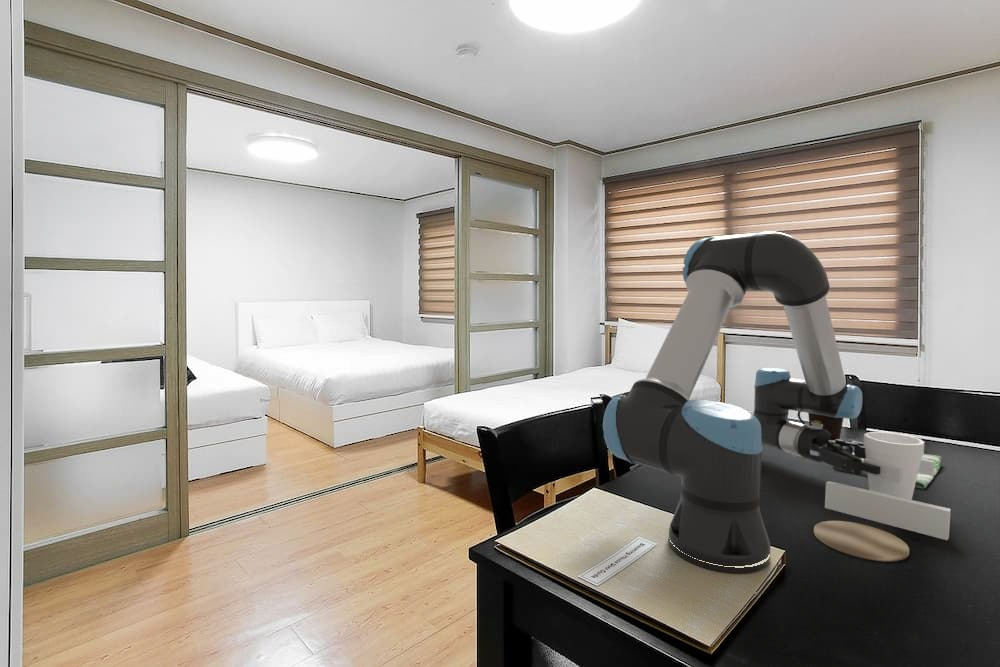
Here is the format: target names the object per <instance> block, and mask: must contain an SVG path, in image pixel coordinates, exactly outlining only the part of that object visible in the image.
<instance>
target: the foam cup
mask: <svg viewBox="0 0 1000 667" xmlns="http://www.w3.org/2000/svg"><path fill="white" fill-rule="evenodd" d="M863 443H864V445H863V446H864V447H865V454H866V459H870V460H874V461H877V462H881V463H884V464H888V465H892V466H895V467H899V468H902V469H903V470H902V483H897V482H894V481H890V480H887V479H884V478H880V477H877V476H874V475H870V474H868V476H867V482H868V490H871V491H875V492H879V493H884V494H888V495H892V496H897V497H901V498H905V499H910V500H913V495H914V491H915V488H916V487H915V483H916V479H917V475H918V470H919V466H920V462H921V458H922V456H923V454H925V441H923V439H921V438H918V437H915V436H911V435H907V434H902V433H894V432H887V431H869V432H865V433H864V434H863Z"/></svg>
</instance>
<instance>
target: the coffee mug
mask: <svg viewBox="0 0 1000 667" xmlns="http://www.w3.org/2000/svg"><path fill="white" fill-rule="evenodd" d="M801 413H802V412H800V411H797V418H798V420H799V421H800V423H801V424H806V422H804V421H803V419H802V417H801ZM807 414H808V423H809V426H813V427H817V428H821V429H825V430H827V431H828V432H829V433H830V434H831V436H832V438H833V439H834V440H835V439H840V438H841V432H842V427H843V422H844V418H838V417H837V418H834V417H830V416H824V415H818V414H813V413H807ZM840 440H841V439H840Z"/></svg>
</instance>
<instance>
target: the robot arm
mask: <svg viewBox="0 0 1000 667" xmlns="http://www.w3.org/2000/svg"><path fill="white" fill-rule="evenodd" d="M683 264H684V266H683V268H682V276H683V277H682V278H683V281H684V283H685V287H686V290H687V292H688V293H687V294H686V297H685V298H684V300H683V303H682V305H681V307H680V309H679V310H678V312H677V313H676V314H677V315H676V316H675V319H674V320H673V323H672V324H671V327H670V329H669V331H668V333H667V335H666V337H665V339H664V341H663V342H662V345H661V347H660V349H659V351H658V353H657V355H656V357H655V359H654V361H653V363H652V365H651V366H650V369H649V372H648V373H647V375H646V377H645V378H642V379H638V380H636V381H635V382H634V383H633V385H632V387H631V389H630V390H629V392H628V394H627V395H625V394H624V395H623V394H621V395H617V396H616V397H615V396H614V397H613V398H612V399H611V400H610V401H608V402H609V403H607V406H606V408H605V411H604V414H603V420H602V430H603V439H604V442H605V444H606V446H607V448H608V450H609V452H611V454H612V455H614V456H615V457H616V458H619V459H620V460H621V459H622V460H624V461H627V462H629V464H633V465H640V466H643V467H647V468H650V469H654V470H656V471H657V470H658V471H661V472H664V473H667V474H671V475H674V476H678V477H680V478H681V481H680V482H681V483H680V484H681V486H680V499H679V501H678V504H677V506H676V510H675V512H674V513H673V514H674V515H673V516H672V519H671V522H670V525H669V528H668V544H669V546H670V548H671V549H672V551H673V552H674V553H675V554H677V555H678V556H679V557H680V558H682V559H684V560H686V561H688V562H690V563H692V564H694V565H695V566H696V565H697V566H699V567H701V568H706V569H709V570H713V571H718V572H722V573H731V574H732V573H733V574H735V573H736V574H738V573H739V574H743V573H744V574H745V573H753V572H758V571H760V570H763V569H765V568H766V567H767V566H768V565H769V564H770V561H771V556H770V557H769V559H768V560H767V561H766V562H764V563H763V564H760V565H757V566H753V567H744V568H735V567H724V566H745V565H752V564H755V563H758V562H760V561H762V560H764V559H766V558H767V557H768V555H769V554H770V555H771V542H770V539H769V536H768V532H767V530H766V527H765V523H764V520H763V517H762V514H761V509H760V494H761V475H762V474H761V473H762V452H763V448H764V446H765V447H768V448H772V449H775V450H778V451H782V452H785V453H788V454H791V456H792V457H794V458H795V457H797V456H798V457H802V458H804V459H807V460H810V461H814V462H816V463H821V462H823V463H825V464H828V465H830V466H833V467H835V468H836V467H837V468H840V469H842V470H841V471H843V470H845V471H844V472H847V473H852V470H854V473H853V475H854V476H855V475H856V476H862V475H861V470H862V471H863V472H864V473H867V474H870V475H874V476H877V477H880V478H884V479H887V480H890V481H894V482H897V483H902V470H903V469H902V468H899V467H895V466H892V465H888V464H884V463H881V462H877V461H874V460H870V459H866V454H865V447H864V446H863V445H864V442H861V441H857V440H854V439H847V441H845V440H844V439H835V440H834V439H833V438H832V436H831V434H830V433H829V432H828V431H827V430H825V429H821V428H817V427H813V426H809V425H808V424H806V423H805V424H802V422H796V421H792V420H788V418H789V417H788V416H789V411H795V412H798V411H800V412H801V413H807V414H808V413H813V414H818V415H824V416H830V417H834V418H837V417H838V418H843V419H849V420H854V419H857V418H858V416H859V415H860V413H861V412H862V407H863V392H862V389H860V387H859V386H856V385H851V384H850V383H849V384H847V381H846V377H845V373H844V370H843V365H842V360H841V356H840V352H839V347H838V343H837V339H836V335H835V330H834V326H833V322H832V318H831V314H830V309H829V305H828V301H827V295H829V293H830V290H831V287H830V282H829V278H828V275H827V272H826V270H825V267H824V266H823V264H822V263H821V261H820V260H819V258H818V257H817V255H816V254H815V253H814V252H813V251H812V250H811V249H810V248H809V247H807V246H806V245H805V244H804V243H803V242H801V241H800V240H799V239H797V238H795V237H793V236H791V235H789V234H787V233H783V232H778V231H763V232H754V233H742V234H732V235H731V234H730V235H714V236H709V237H705V238H701V239H698V240H697V241H695V242H694V243H693V244H692V245H690V247H689V249H687V251H686V253H685V257H684V258H683ZM748 291H750V292H751V291H752V292H753V291H755V292H757V291H770V292H771V293H772V294H773V295H774V299H775V301H776V303H778V304H779V305H781V306H782V307H783V308H784V313H785V317H786V320H787V324H788V326H789V329H790V333H791V338H792V340H793V344H794V347H795V350H796V353H797V357H798V360H799V364H800V367H801V370H802V373H803V377H804V378H803V379H799V378H798V379H797V378H792V377H791V373H790V371H789V370H788V369H783V368H778V367H777V368H776V367H775V368H774V367H763V368H759V369H757V371H756V373H755V380H754V382H755V383H754V402H753V403H754V404H753V406H754V407H753V408H754V409H753V410H754V411H753V412H750V411H748V410H746V409H744V408H742V407H739V406H737V405H733V404H729V403H726V402H722V401H712V400H711V401H710V400H706V399H692V400H690V398H691V396H692V393H693V391H694V389H695V387H696V385H697V383H698V380H699V378H700V375H701V373H702V371H703V369H704V367H705V364H706V362H707V360H708V358H709V356H710V353H711V351H712V349H713V347H714V344H715V342H716V339H717V338H718V335H719V333H720V331H721V328H722V327H723V324H724V322H725V320H726V317H727V315H728V313H729V311H730V309H732V308H735V307H737V306H738V305H740V304H741V303H742V301H743V300H744V297H745V295H746V292H748ZM852 453H854V455H853V454H852ZM860 458H862V459H864V461H863V462H862V459H860ZM844 465H845V466H844ZM934 466H935V462H934V461H930V460H926V459H922V458H921V462H920V466H919V470H918V472H920V473H923V474H927V475H931V476H933V475H934ZM669 538H670V539H669ZM670 540H671V542H672V543H673V544H672V543H671V542H670ZM673 545H675V547H674V546H673ZM676 547H677V548H678V549H679V550H680V551H679V550H678V549H677V548H676ZM681 551H682V552H683V553H682V552H681ZM684 553H685V554H684ZM686 554H687V555H686ZM688 555H689V556H688ZM690 556H691V557H690ZM692 557H693V558H692ZM694 558H696V559H694ZM697 559H698V560H697ZM699 560H702V561H705V562H702V561H699ZM706 562H709V563H713V564H718V565H723V566H718V565H713V564H709V563H706Z"/></svg>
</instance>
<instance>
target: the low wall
mask: <svg viewBox="0 0 1000 667" xmlns="http://www.w3.org/2000/svg"><path fill="white" fill-rule="evenodd" d="M824 494H825V495H824V496H825V498H824V508H825V509H827V510H831V511H834V512H839V513H842V514H847V515H848V516H849V515H850V516H853V517H857V518H862V519H864V520H865V519H866V520H868V521H873V522H875V523H879V524H884V525H888V526H891V527H895V528H900V529H903V530H906V531H910V532H913V533H914V532H915V533H917V534H923V535H925V536H930V537H933V538H936V539H941V540H945V541H948V540H949V539H950V523H951V510H952V509H951V508H948V507H944V506H939V505H935V504H932V503H927V502H922V501H918V500H914V499H912V500H910V499H905V498H901V497H897V496H892V495H888V494H884V493H879V492H875V491H871V490H869V489H866V488H862V487H857V486H852V485H850V484H849V485H848V484H844V483H840V482H837V481H835V482H834V481H830V480H828V481H826V482H825V493H824Z"/></svg>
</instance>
